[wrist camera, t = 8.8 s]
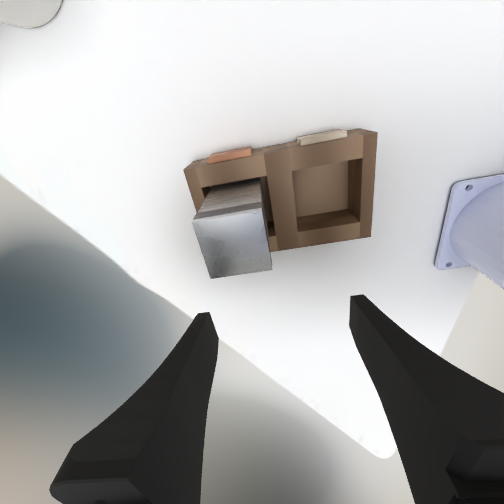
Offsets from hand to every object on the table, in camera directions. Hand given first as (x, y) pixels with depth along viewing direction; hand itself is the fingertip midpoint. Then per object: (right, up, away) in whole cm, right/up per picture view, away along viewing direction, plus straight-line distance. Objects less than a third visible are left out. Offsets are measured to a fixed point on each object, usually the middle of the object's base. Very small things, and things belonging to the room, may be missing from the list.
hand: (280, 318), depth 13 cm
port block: (+1, +8, +7) cm, 11 cm away
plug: (-2, +8, +7) cm, 11 cm away
